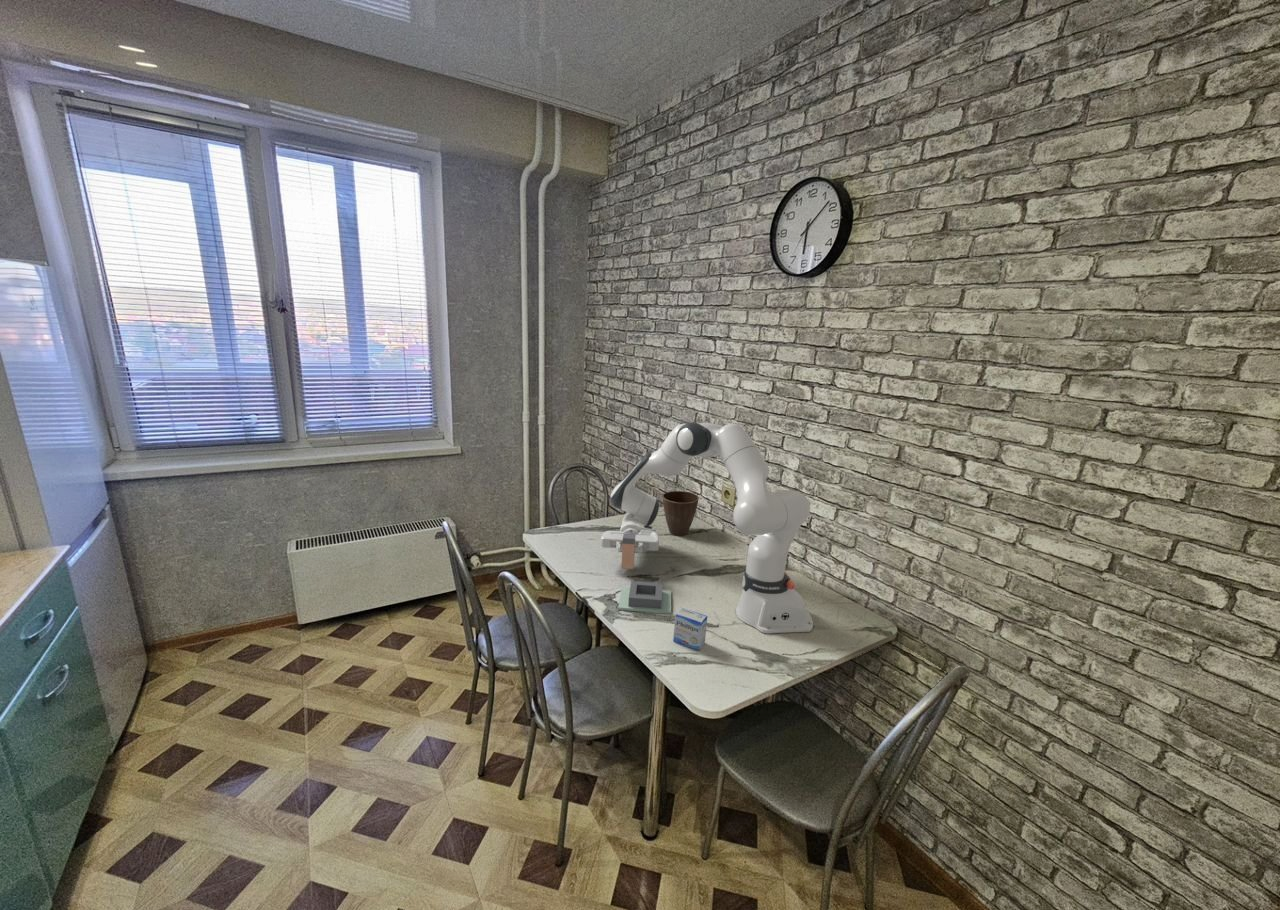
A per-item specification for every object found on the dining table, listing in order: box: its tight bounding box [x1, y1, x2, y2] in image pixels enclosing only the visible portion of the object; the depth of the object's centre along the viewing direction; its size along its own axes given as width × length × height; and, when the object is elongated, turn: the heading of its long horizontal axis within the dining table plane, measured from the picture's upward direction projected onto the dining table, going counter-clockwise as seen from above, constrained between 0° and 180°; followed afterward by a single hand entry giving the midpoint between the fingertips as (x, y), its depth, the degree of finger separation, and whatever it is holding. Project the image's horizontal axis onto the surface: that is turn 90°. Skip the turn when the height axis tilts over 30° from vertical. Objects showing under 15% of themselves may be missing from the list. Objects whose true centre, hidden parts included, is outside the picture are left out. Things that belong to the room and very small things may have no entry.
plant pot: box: [662, 490, 699, 537], centre depth 204 cm, size 15×15×16 cm
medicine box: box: [672, 606, 708, 651], centre depth 133 cm, size 8×4×9 cm, turn 62°
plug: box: [621, 533, 636, 570], centre depth 164 cm, size 4×4×11 cm
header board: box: [617, 580, 672, 615], centre depth 153 cm, size 16×12×4 cm
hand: (628, 550), depth 163 cm, fingers closed on plug, 4 cm apart
